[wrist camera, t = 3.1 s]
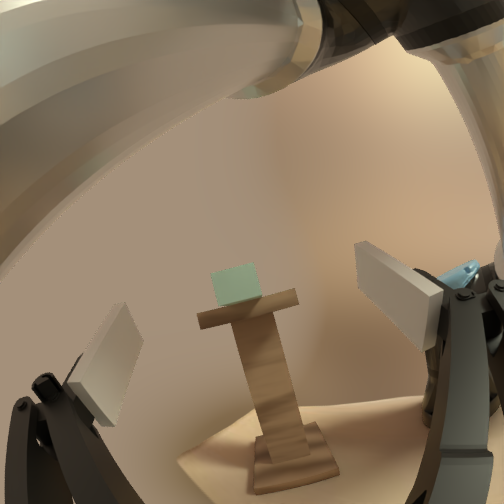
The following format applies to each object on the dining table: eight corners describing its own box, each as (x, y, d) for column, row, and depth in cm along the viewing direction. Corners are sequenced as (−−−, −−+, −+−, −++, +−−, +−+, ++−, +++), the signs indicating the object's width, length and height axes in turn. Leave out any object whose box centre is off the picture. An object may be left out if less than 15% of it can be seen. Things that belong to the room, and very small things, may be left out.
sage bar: (262, 294, 24) (253, 262, 25) (218, 306, 24) (210, 273, 25) (261, 299, 43) (256, 280, 44) (236, 305, 43) (231, 287, 43)
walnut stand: (339, 474, 27) (294, 288, 32) (256, 495, 27) (196, 313, 32) (317, 427, 45) (282, 294, 50) (257, 442, 44) (218, 310, 50)
